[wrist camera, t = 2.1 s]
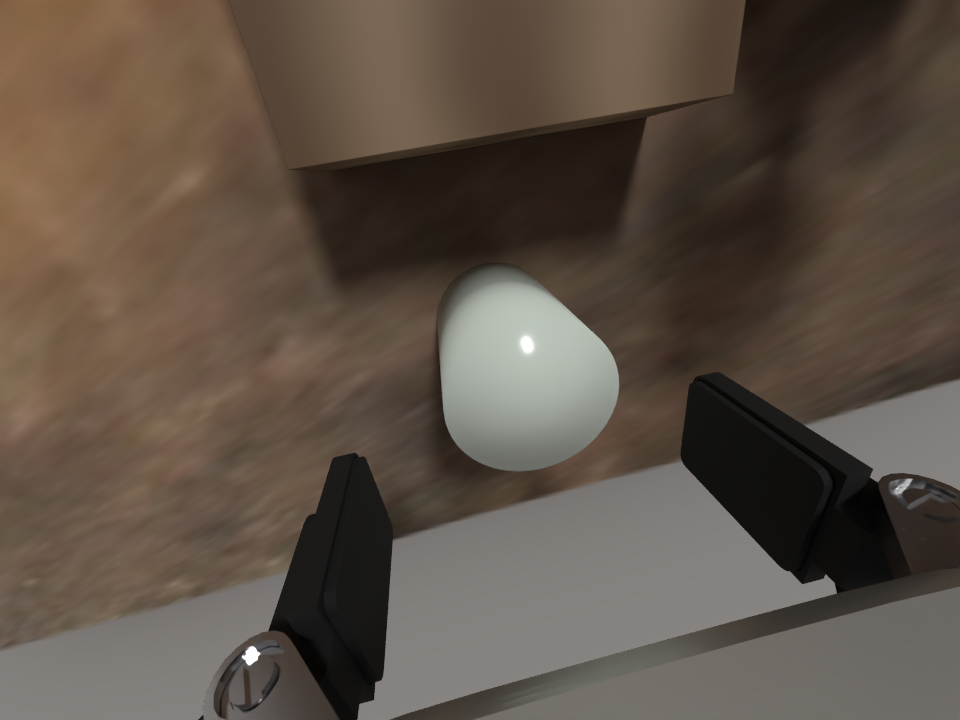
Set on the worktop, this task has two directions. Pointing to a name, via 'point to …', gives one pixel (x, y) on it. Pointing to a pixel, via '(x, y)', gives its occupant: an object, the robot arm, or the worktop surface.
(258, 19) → the brown wooden block
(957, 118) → the worktop surface
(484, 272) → the white rounded capsule
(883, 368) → the worktop surface
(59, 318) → the worktop surface
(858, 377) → the worktop surface
